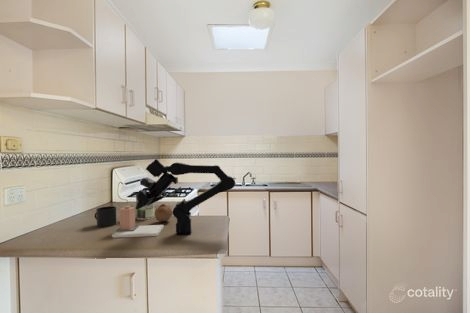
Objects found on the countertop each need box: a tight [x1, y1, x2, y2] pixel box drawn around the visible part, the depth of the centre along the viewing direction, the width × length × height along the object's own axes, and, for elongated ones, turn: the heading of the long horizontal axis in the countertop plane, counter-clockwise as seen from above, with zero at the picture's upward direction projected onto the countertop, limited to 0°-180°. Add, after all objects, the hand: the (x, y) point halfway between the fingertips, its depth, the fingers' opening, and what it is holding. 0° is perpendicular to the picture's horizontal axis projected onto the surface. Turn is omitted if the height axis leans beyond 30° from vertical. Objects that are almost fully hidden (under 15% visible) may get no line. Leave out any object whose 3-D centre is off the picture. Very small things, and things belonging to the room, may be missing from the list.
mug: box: [94, 205, 118, 228], centre depth 138 cm, size 9×12×9 cm
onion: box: [154, 203, 173, 223], centre depth 141 cm, size 10×9×10 cm
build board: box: [111, 224, 164, 239], centre depth 124 cm, size 20×14×2 cm
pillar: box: [119, 205, 136, 230], centre depth 125 cm, size 5×5×11 cm
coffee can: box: [135, 192, 155, 221], centre depth 152 cm, size 10×10×14 cm
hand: (141, 206), depth 123 cm, fingers open, 9 cm apart
